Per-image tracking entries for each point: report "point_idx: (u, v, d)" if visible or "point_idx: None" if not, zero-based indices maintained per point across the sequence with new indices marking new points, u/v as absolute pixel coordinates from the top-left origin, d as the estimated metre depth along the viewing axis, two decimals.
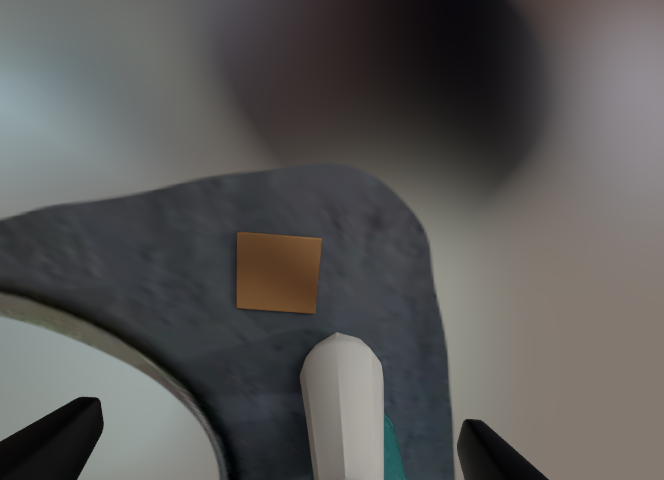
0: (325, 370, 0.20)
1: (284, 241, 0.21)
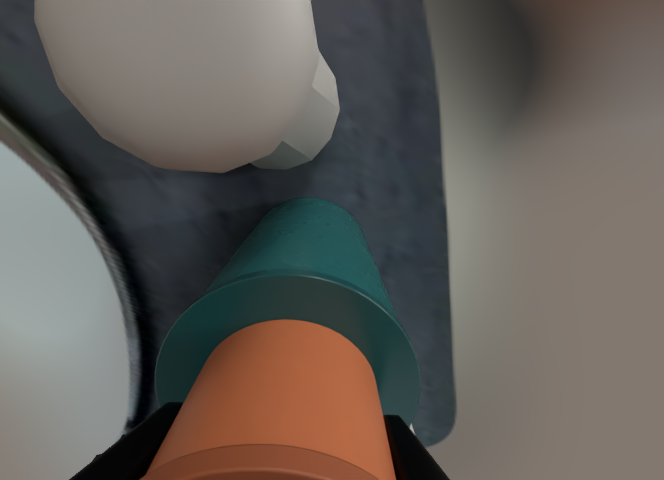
0: None
1: None
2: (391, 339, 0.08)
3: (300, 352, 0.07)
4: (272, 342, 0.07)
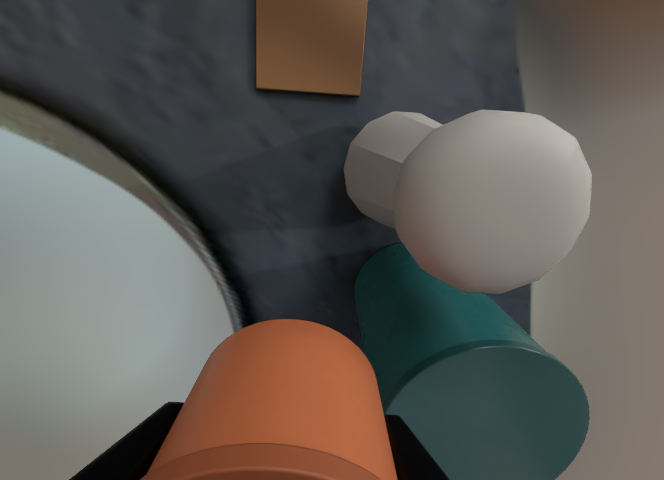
0: (384, 123, 0.14)
1: None
2: (572, 392, 0.10)
3: (301, 352, 0.07)
4: (274, 342, 0.07)
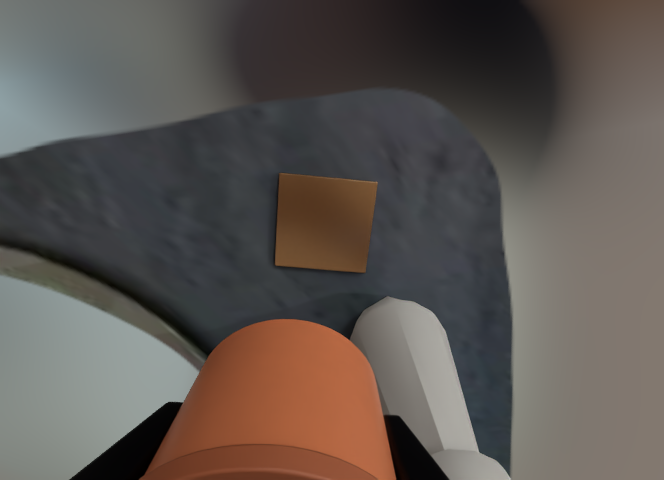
0: (386, 331, 0.17)
1: (334, 184, 0.18)
2: None
3: (300, 352, 0.07)
4: (273, 342, 0.07)
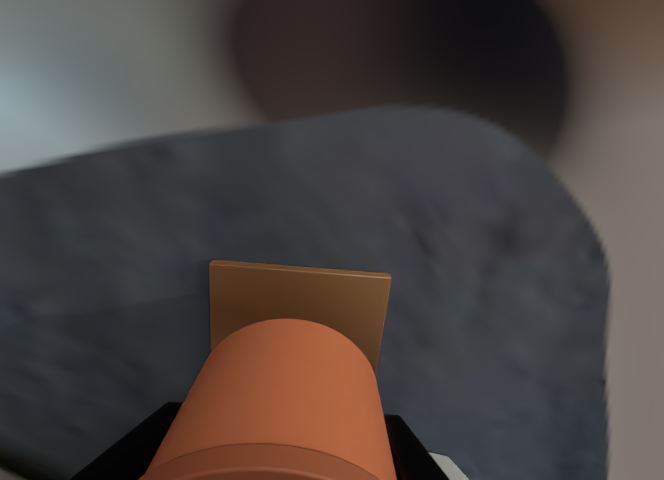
0: None
1: (311, 281, 0.10)
2: None
3: (300, 351, 0.07)
4: (273, 341, 0.07)
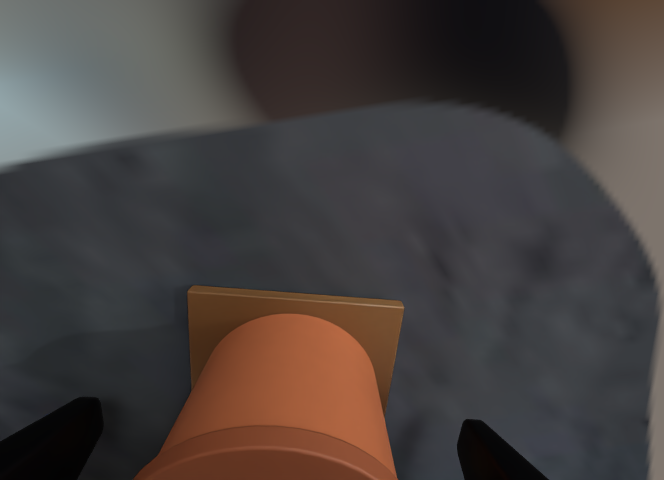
0: None
1: (309, 311, 0.08)
2: None
3: (302, 344, 0.07)
4: (276, 335, 0.07)
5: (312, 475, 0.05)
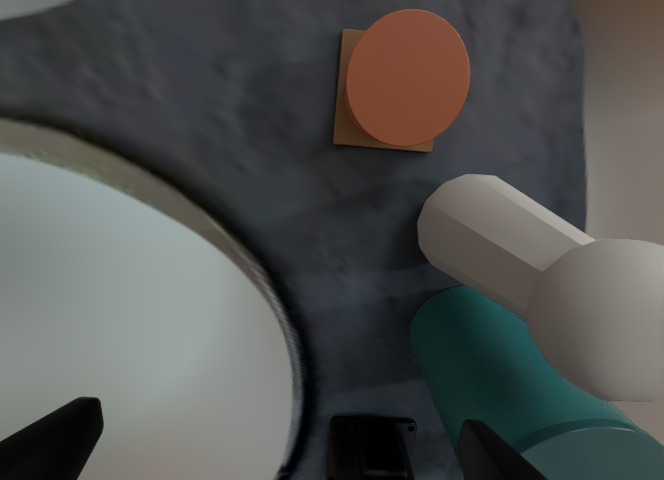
0: (470, 192, 0.15)
1: None
2: None
3: None
4: None
5: (431, 25, 0.13)
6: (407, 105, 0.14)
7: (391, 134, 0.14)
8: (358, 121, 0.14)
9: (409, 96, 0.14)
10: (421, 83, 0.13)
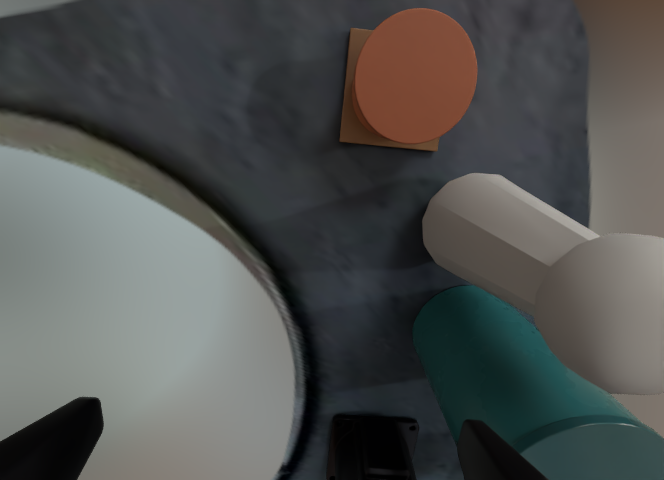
0: (475, 190, 0.15)
1: None
2: None
3: None
4: None
5: (439, 24, 0.13)
6: (415, 103, 0.14)
7: (398, 131, 0.14)
8: (366, 118, 0.14)
9: (417, 94, 0.14)
10: (429, 81, 0.14)
